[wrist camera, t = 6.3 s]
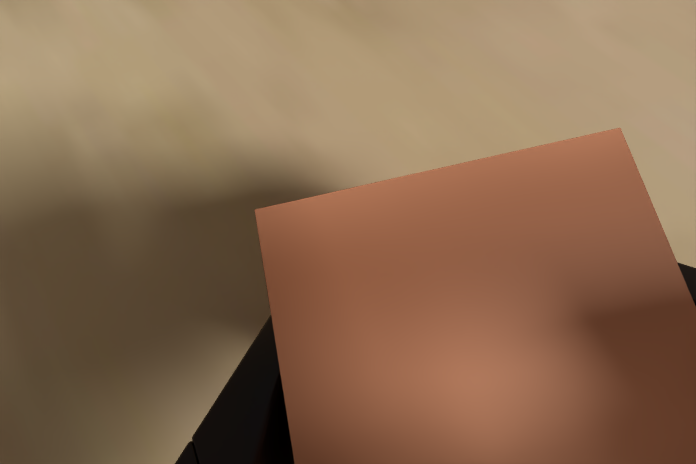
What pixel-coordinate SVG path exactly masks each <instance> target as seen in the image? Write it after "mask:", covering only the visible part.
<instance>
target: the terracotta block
mask: <svg viewBox="0 0 696 464" xmlns="http://www.w3.org/2000/svg"><path fill="white" fill-rule="evenodd" d="M255 215H256V221H257V228H258V234H259V241H260V247H261V253H262V260H263V266H264V272H265V279H266V285H267V291H268V298H269V304H270V310H271V317H272V323H273V329H274V336H275V342H276V348H277V355H278V361H279V368H280V374H281V380H282V387H283V393H284V399H285V406H286V412H287V418H288V425H289V431H290V437H291V444H292V450H293V456H294V463H295V464H696V306H695V304H694V301H693V299H692V297H691V294H690V292H689V290H688V287H687V285H686V282H685V280H684V278H683V275H682V273H681V271H680V268H679V266H678V263H677V261H676V259H675V256H674V254H673V252H672V249H671V247H670V245H669V242H668V240H667V237H666V235H665V233H664V230H663V228H662V226H661V223H660V221H659V218H658V216H657V214H656V211H655V209H654V207H653V204H652V202H651V199H650V197H649V195H648V192H647V190H646V188H645V185H644V183H643V181H642V178H641V176H640V173H639V171H638V169H637V166H636V164H635V162H634V159H633V157H632V154H631V152H630V150H629V147H628V145H627V143H626V140H625V138H624V135H623V133H622V131H621V128H616V129H612V130H608V131H603V132H599V133H594V134H590V135H585V136H581V137H576V138H572V139H567V140H563V141H558V142H554V143H550V144H545V145H541V146H536V147H532V148H527V149H523V150H518V151H514V152H509V153H505V154H500V155H496V156H491V157H487V158H483V159H478V160H474V161H469V162H465V163H460V164H456V165H451V166H447V167H442V168H438V169H433V170H429V171H425V172H420V173H416V174H411V175H407V176H402V177H398V178H393V179H389V180H384V181H380V182H375V183H371V184H367V185H362V186H358V187H353V188H349V189H344V190H340V191H335V192H331V193H326V194H322V195H317V196H313V197H308V198H304V199H300V200H295V201H291V202H286V203H282V204H277V205H273V206H268V207H264V208H259V209H255Z"/></svg>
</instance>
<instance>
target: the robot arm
mask: <svg viewBox="0 0 696 464" xmlns="http://www.w3.org/2000/svg"><path fill="white" fill-rule="evenodd" d="M677 263H678V262H677ZM678 266H679V268H680V271H681V273H682V275H683V278H684V280H685V282H686V285H687V287H688V290H689V292H690V294H691V297H692V299H693V301H694V304H695V306H696V268H694V267H690V266H687V265H684V264H681V263H678ZM175 464H295V463H294V456H293V450H292V444H291V437H290V431H289V425H288V418H287V412H286V406H285V399H284V393H283V387H282V380H281V374H280V368H279V361H278V355H277V348H276V342H275V336H274V329H273V323H272V317H271V315H270V317H269V318H268V320H267V322H266V323H265V325H264V326H263V328H262V329H261V331H260V332H259V334H258V336H257V337H256V339H255V340H254V342H253V343H252V345H251V346H250V348H249V350H248V351H247V353H246V354H245V356H244V357H243V359H242V360H241V362H240V364H239V365H238V367H237V368H236V370H235V371H234V373H233V374H232V376H231V378H230V379H229V381H228V382H227V384H226V385H225V387H224V388H223V390H222V392H221V393H220V395H219V396H218V398H217V399H216V401H215V402H214V404H213V406H212V407H211V409H210V410H209V412H208V413H207V415H206V416H205V418H204V420H203V421H202V423H201V424H200V426H199V427H198V429H197V430H196V432H195V434H194V435H193V437H192V441H190V442H189V443H188V444H187V446H186V447H185V449H184V450H183V452H182V453H181V455H180V457H179V458H178V460H177V461H176V463H175Z"/></svg>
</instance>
